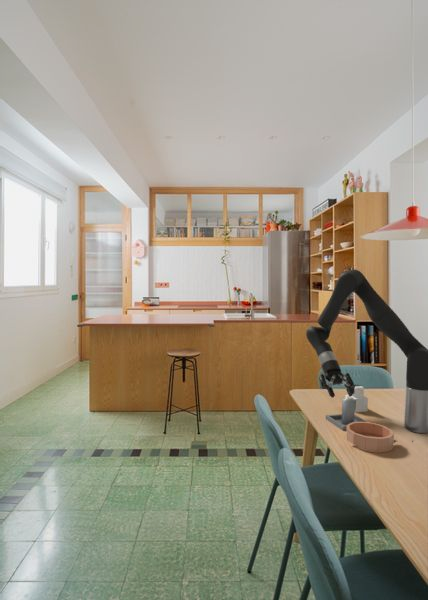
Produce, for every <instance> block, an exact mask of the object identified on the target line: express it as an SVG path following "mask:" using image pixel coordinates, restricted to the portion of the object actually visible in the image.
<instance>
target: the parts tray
mask: <svg viewBox="0 0 428 600" xmlns="http://www.w3.org/2000/svg"><path fill="white" fill-rule="evenodd" d="M325 420H326V421H328V422H329V423H331V424H333V425H334V426H335V427H337V428H338V429H339V430H341V431H346V428H347V425H344V424H342V423H341V420H342V413H340V414H326V415H325ZM354 422H368V421H366V420H364V419H363V418H361V417H360V416H358V415H356V414H355V415H354Z"/></svg>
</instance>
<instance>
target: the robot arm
mask: <svg viewBox="0 0 428 600" xmlns="http://www.w3.org/2000/svg"><path fill="white" fill-rule="evenodd" d="M352 293H354V294H355V295H356V296H357V297H358V298H359V299H360V300H361V301H362V303H363V305H364V307H365V310H366V312H367V313H366V314H367V315H368V317H369V319H370V320H371V322H372V323H373V324H374V325H375V326H376V328H377V329H378V330H379V331H380V332H381V333H382V334H383V335H384V336H385V337H387V338H388V339H390V340H391V341H392V342H393V343H394V344H396V346H397V347H398V348H399V349H400V350H401V351H402V352H403V354H404V356H405V358H407V360H406V377H405V378H406V380H405V381H406V382H405V400H404V401H405V403H404V404H405V405H404V424H403V427H404V428H405V430H407V431H410V432H413V433H416V434H417V433H418V434H428V348H427V347H425V346H424V345H423V344H422V342H420V341H419V340H418V339H417V338H416V337H415V336H414V335H413V334H412V333H411V331H410V330H409V329H408V328H407V327H408V326H407V325H405V323H404V322H403V321H402V319H401V318H400V317H399V316H398V315H397V313H396V312H395V311H394V310H393V308H391V307H390V306H389V305H388V304H387V302H386V301H385V300H384V299H383V298H382V297H381V296H380V295H379V293H377V292H376V290H375V289H374V287H372V285H371V283H370V282H369V281H368V279H367V277H366V276H365V275H364V273H362V272H361V271H360V270H358V269H353V268H352V269H348V270H346V271H344V272H342V273H341V274H340V275H339V276H338V278H337V281H336V284H335V285H334V289H333V291H332V293H331V295H330V298H329V300H328V301H327V303H326V305H325V307H324V308H323V309H322V311H321V314H320V315H319V316H318V318H317V325H319V326H309V327H308V328H307V329H306V333H305V335H306V339H307V340H308V343H310V345H311V346H312V348H313V349H314V350H315V352H316V356H317V358H318V361H319V365H320V366H321V369H322V371H323V373H322V374H320V375H319V377H318V379H319V382H320V386H321V388H322V389H323V390H327V392H328V395H329V396H330V397H331V399H332V398H334V397H335V396H336V395H335V392H334V389H333V387H332V386H335V385H339V386H340V385H341V386H342V387H344V388H345V390H346V393H347V395H349V397H351V396H352V395H353V391H352V389H351V387H352V386H353V385H355V384H354V383H355V382H354V381H353V379H352V377H351V375H350V373H349V372H347V373H342V369H341V367H340V364H339V362H338V359H337V356H336V355H335V353H334V352H333V349H332V347H331V344H330V343H329V342H328V339H329V337H330V336H331V335H330V334H331V331H332V327H333V325H334V323H335V322H336V320H337V319H338V317H339V315H340V312H341V311H342V307H343V305H344V303H345V302H346V300H347V298H348V297H350V295H351V294H352ZM327 381H328V382H327Z"/></svg>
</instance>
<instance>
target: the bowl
mask: <svg viewBox="0 0 428 600" xmlns="http://www.w3.org/2000/svg"><path fill="white" fill-rule="evenodd" d="M394 435H395V434H394V431H393V430H392V429H390V428H388V427H387V426H385V425H383V424H378V423H375V422H371V421H370V422H368V421H367V422H352V423H350V424H348V425H347V428H346V430H345V436H346V437H345V438H346V441H348V443H351V444H353V445H352V447H353V448H355V449H358V450H360V451H364V452H370V453H371V452H372V453H376V454H377V453H378V454H379V453H387V452H390V451H391V450H393V449H394V439H395V438H394Z"/></svg>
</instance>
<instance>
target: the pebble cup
mask: <svg viewBox="0 0 428 600" xmlns="http://www.w3.org/2000/svg"><path fill="white" fill-rule="evenodd" d="M341 401H342V402H341V414H342V420H341V423H342V424H344V425H348V424H350V423H352V422H354V415H356V414H355V399H353V397H349V396H344V397H343V398H342V399H341Z"/></svg>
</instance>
